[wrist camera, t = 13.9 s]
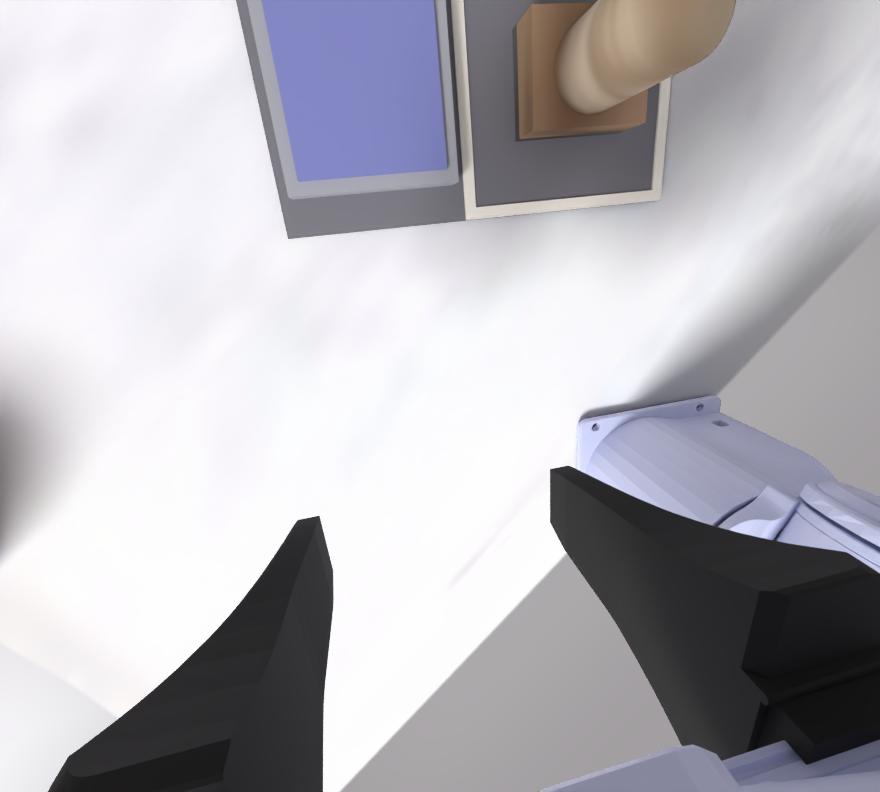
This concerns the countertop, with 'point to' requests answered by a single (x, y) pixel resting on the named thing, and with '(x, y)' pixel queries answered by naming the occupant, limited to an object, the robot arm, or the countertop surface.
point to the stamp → (604, 61)
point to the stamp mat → (422, 118)
